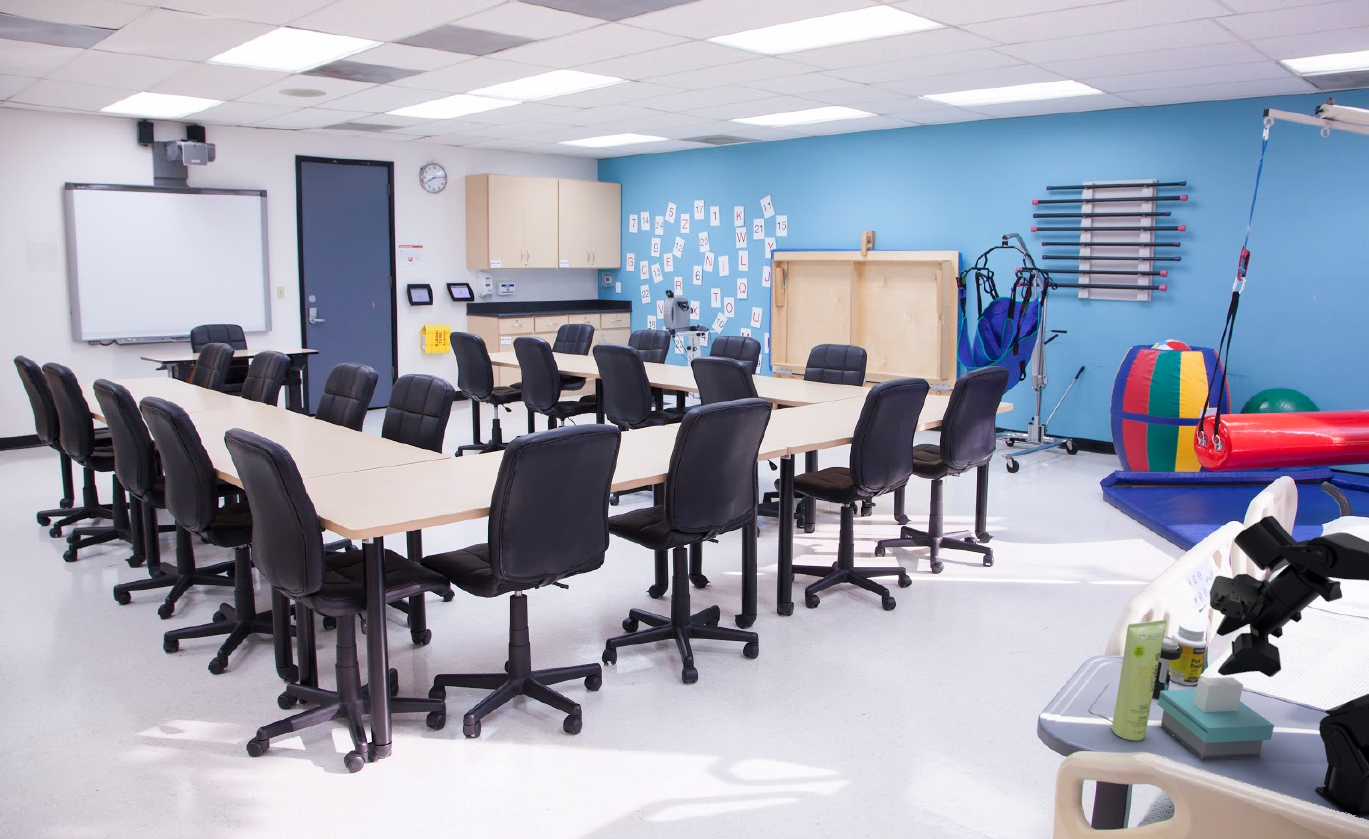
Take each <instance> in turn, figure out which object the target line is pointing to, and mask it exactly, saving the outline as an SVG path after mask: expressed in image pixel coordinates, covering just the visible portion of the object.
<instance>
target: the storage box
mask: <svg viewBox="0 0 1369 839" xmlns="http://www.w3.org/2000/svg"><path fill="white" fill-rule="evenodd" d="M1161 725H1162V727H1163V728H1162V727H1161V728H1162V729H1164V730H1165V729H1166V730H1167V731H1168V732H1169V733H1168V732H1167V731H1166V730H1165V731H1166V732H1167V733H1168V734H1170V735H1171V736H1172V735H1174V737H1175V738H1174V737H1173V738H1174V739H1175V740H1177V741H1178V742H1179V741H1180V742H1181V743H1180V742H1179V743H1180V744H1182V746H1183V747H1185V748H1186V749H1188V751H1190V752H1191V753H1192V754H1193V755H1195V756H1196V757H1197V758H1198V759H1200V760H1201V761H1205V762H1207V761H1221V760H1243V759H1245V760H1246V759H1260V756H1261V751H1262V747H1263V741H1264V740H1257V741H1236V742H1214V743H1205V742H1204V741H1202V740H1201V739H1200V738H1199V737H1197V736H1196V735H1195V734H1194V733H1192V732H1191V731H1190V730H1189V729H1187V728H1186V727H1185V726H1184V725H1183V724H1181V723H1180V722H1179V721H1178V720H1176V719H1175V718H1174V717H1173V716H1171V715H1170V714H1169V713H1168V712H1166V711H1165V710H1164V709H1163V713H1162V717H1161V721H1160V726H1161Z"/></svg>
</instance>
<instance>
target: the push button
mask: <svg viewBox="0 0 1369 839" xmlns="http://www.w3.org/2000/svg"><path fill="white" fill-rule="evenodd" d="M1182 653H1183V648H1182V647H1181V646H1180V645H1178V641H1176V640H1175V639H1173V638H1172V637H1170V636H1165V635H1164V638H1163V643H1162V648H1161V653H1160V659H1159V664H1158V669H1157V675H1156V680H1155V685H1154V690H1153V696H1152V699H1153V698H1154V699H1158V700H1159V696H1160V691H1166V690H1169V686H1170V681H1171V679H1170V675H1169V670H1168V667H1169V662H1170V661H1173V660H1176V659H1179V658H1180V656H1181V654H1182Z"/></svg>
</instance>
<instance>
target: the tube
mask: <svg viewBox="0 0 1369 839" xmlns="http://www.w3.org/2000/svg"><path fill="white" fill-rule="evenodd" d="M1166 628H1167V618H1165V619H1160V620H1152V621H1151V620H1150V621H1142V622H1135V623H1128V624H1127V629H1126V635H1125V644H1124V651H1123V658H1122V664H1121V669H1120V670H1121V671H1120V675H1119V684H1118V689H1117V694H1116V700H1115V706H1114V714H1113V717H1112V718H1113V719H1112V724H1111V730H1112V732H1113V733H1114V734H1115V735H1117V736H1118V737H1120V738H1122V739H1124V740H1127V741H1141V740H1144V738H1145V737H1146V732H1147V728H1148V727H1147V726H1148V722H1149V717H1150V711H1151V706H1152V700H1153V698H1152V696H1153V690H1154V685H1155V680H1156V675H1157V669H1158V664H1159V659H1160V653H1161V648H1162V643H1163V638H1164V636H1165V633H1166Z"/></svg>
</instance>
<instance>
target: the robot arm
mask: <svg viewBox="0 0 1369 839" xmlns="http://www.w3.org/2000/svg"><path fill="white" fill-rule="evenodd" d="M1233 542H1234V543H1235V545H1237V547H1238V548H1240V549H1241V551H1242V552H1243V553H1244V554H1245V555H1246V556H1247V557H1248V558H1249V560H1250V561H1251V562H1253V563H1254V564H1255V566H1256V567H1257V568H1258V569H1259V570H1260V571H1263V572H1264V571H1265V570H1266V571H1267V570H1268V569H1269V570H1270V571H1271V572H1272V573H1274V572H1277V571H1279V570H1281V569H1282V570H1281V571H1280V572H1279V573H1277V575H1275V577H1273V578H1271V580H1270V581H1268V580H1266V579H1265V578H1263V580H1259V579H1257V578H1256V577H1254V576H1252V575H1251V574H1248V573H1238V574H1236V575H1235V576H1234V577H1233V578H1232V577H1228V576H1223V575H1217V576H1215V577H1214V580H1213V582H1212V586H1210V587H1211V588H1210V590H1209V606H1210V607H1211V609H1213V610H1215V611H1218V612H1219V613H1220V614H1221V615H1224V616H1223V618H1222V620H1221V621H1220V624H1219V625H1218V628H1217V629H1216V634H1217V635H1218V636H1219V635H1220V636H1221V637H1224V636H1226V635H1229V634H1231V633H1234V632H1235V631H1237V630H1240V629H1241V628H1243V627H1246V626H1248V625H1249V632H1241V633H1240V634H1239V635H1237V636H1236V638H1235V640H1231V654H1230V655H1229V656H1228V657H1227V658H1226V659H1225V661H1224V662H1223V663H1222V664H1221V665H1220V666H1219V667H1218V670H1217V673H1218V674H1220V675H1221V676H1224V677H1226V676H1229V675H1238V674H1243V673H1244V674H1245V673H1251V672H1252V673H1253V672H1259V673H1261V674H1263V675H1265V676H1267V677H1268V678H1273V677H1274V676H1275V675H1277V674H1278V673H1279V672H1281V670H1282V665H1281V664H1282V663H1281V653H1280V649H1279V647H1278V646H1276V645H1275V644H1272V643H1271V642H1270V641H1269V639H1270V638H1269V636H1270V635H1271V636H1273V637H1275V638H1277V639H1280V637H1282V636H1283V635H1284V634H1283V633H1284V632H1283V627H1284V626H1285V625H1286V624H1288V623H1289V622H1290V621H1292V622H1293V621H1294V622H1295V623H1299V622H1300V621H1301V620H1302V618H1303V617H1302V611H1303V610H1304V609H1306V608H1307V607H1308V606H1309V605H1311V603H1313V602H1314V601H1315V600H1317V598H1318V597H1321V598H1322V599H1323V600H1324V601H1325V602H1327V603H1330V602H1333V601H1337V600H1340V599H1342V598H1343V592H1342V589H1341V584H1342V583H1341V581H1339V580H1333V579H1341V580H1347V581H1348V580H1349V581H1350V580H1354V581H1355V580H1356V581H1368V582H1369V540H1366V539H1364V538H1361V537H1359V536H1356V535H1353V534H1351V533H1348V532H1340V531H1339V532H1334V533H1329V534H1325V535H1321V536H1316V537H1313V538H1312V539H1305V540H1300V541H1296V539H1295V538H1294V537H1293V536H1292V535H1291V534H1290V533H1289V532H1288V531H1287V530H1286V529H1285V528H1284V527H1283V526H1282V525H1281V523H1280V522H1279V521H1278V519H1277V518H1276V517H1274V515H1267V516H1263V517H1262V518H1261V519H1259V521H1257V522H1255V523H1253V524H1251V525H1250V526H1249V527H1247V528H1246V529H1243V530H1241V531H1240V532H1239V533H1238V534H1237V535H1236V536H1235V538H1234V540H1233ZM1331 578H1332V579H1331ZM1325 714H1327V715H1325V716H1324V717H1322V718H1321V720H1320V721H1319V727H1318V730H1319V735H1320V738H1321V740H1322V742H1323V743H1324V750H1325V756H1326V762H1327V768H1326V772H1325V777H1324V780H1323V786H1316V787H1315V788H1314V791H1315V792H1316V793H1317V794H1319V795H1320V796H1321V797H1322V798H1324V799H1325V800H1326V801H1328V802H1329V803H1331V804H1332V805H1333V806H1334V807H1336V808H1337V809H1338V810H1340V811H1341V812H1343V813H1344V812H1347V813H1350V814H1352V815H1356V816H1355V817H1366V816H1367V817H1368V816H1369V693H1366V694H1364V695H1362V696H1358V697H1356V698H1354V699H1352V700H1349V701H1347V702H1345V703H1341V704H1339V705H1337V706H1334V707H1331V708H1329V709H1327V710H1325Z"/></svg>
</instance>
